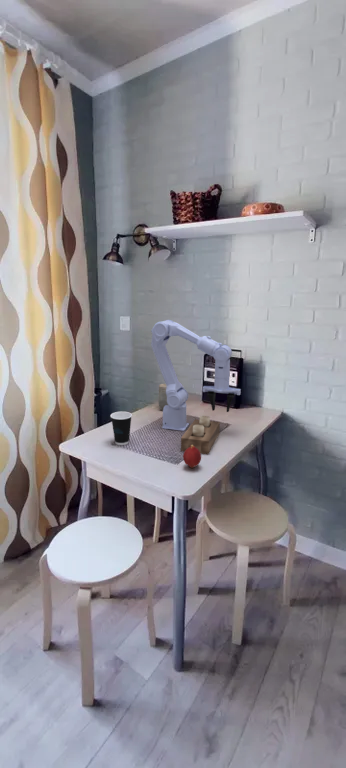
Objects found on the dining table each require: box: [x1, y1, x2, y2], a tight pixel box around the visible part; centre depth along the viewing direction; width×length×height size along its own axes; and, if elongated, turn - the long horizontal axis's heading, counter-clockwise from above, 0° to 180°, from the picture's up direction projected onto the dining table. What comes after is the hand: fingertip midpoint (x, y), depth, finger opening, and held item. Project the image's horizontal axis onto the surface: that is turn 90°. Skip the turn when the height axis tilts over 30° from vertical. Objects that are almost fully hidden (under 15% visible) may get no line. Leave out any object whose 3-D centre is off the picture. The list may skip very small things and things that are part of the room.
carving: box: [157, 383, 168, 411], centre depth 181 cm, size 6×8×12 cm
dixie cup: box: [109, 411, 133, 446], centre depth 144 cm, size 8×8×11 cm
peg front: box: [193, 425, 204, 437], centre depth 140 cm, size 4×4×4 cm
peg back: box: [198, 415, 211, 428], centre depth 149 cm, size 4×4×4 cm
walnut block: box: [180, 418, 221, 455], centre depth 146 cm, size 10×20×5 cm, turn 162°
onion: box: [182, 445, 202, 469], centre depth 125 cm, size 6×6×8 cm
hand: (220, 410), depth 153 cm, fingers open, 5 cm apart
